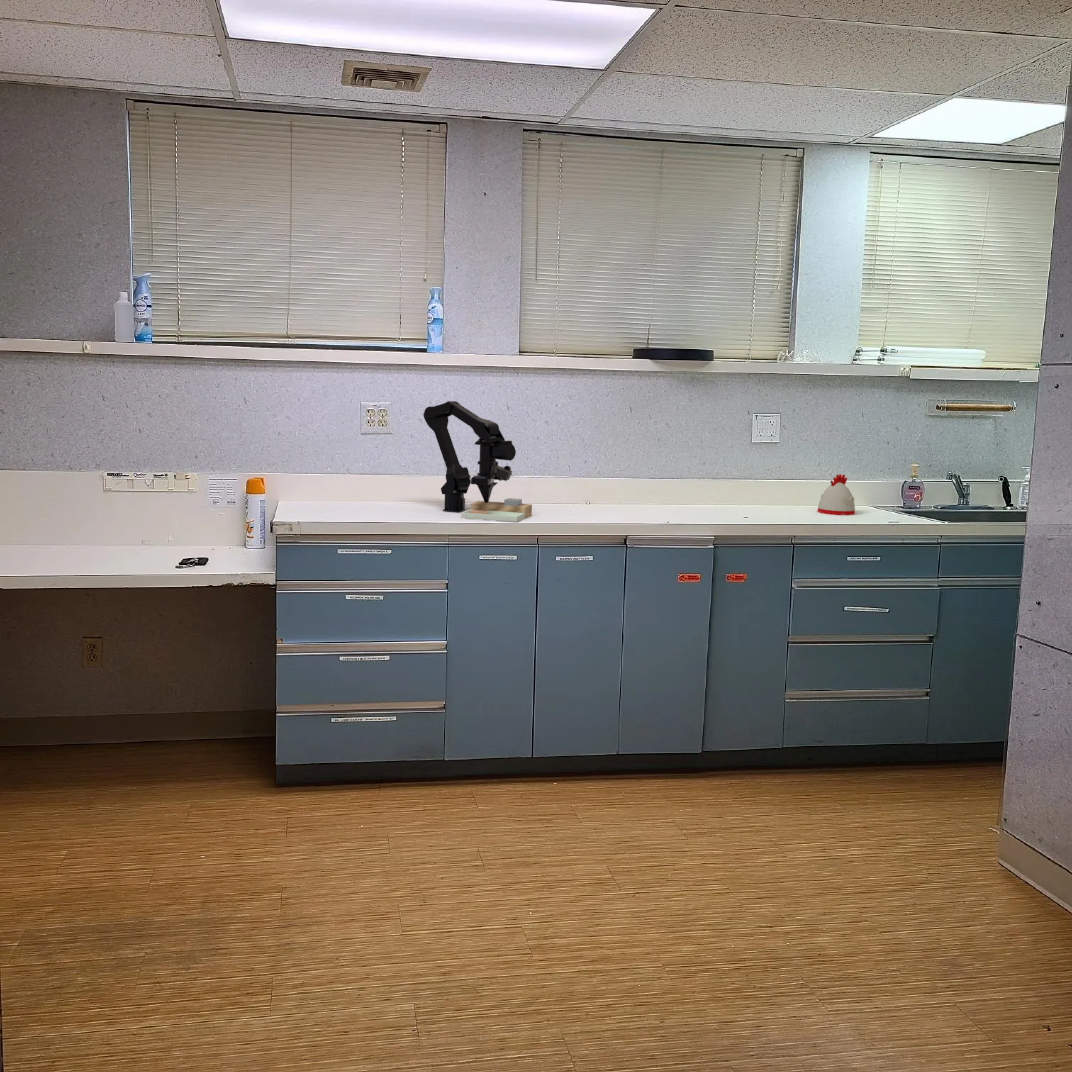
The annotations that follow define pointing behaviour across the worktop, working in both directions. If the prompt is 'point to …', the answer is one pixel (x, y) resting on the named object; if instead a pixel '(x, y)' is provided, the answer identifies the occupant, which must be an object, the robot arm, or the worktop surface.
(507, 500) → the slate tile
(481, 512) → the terracotta tile
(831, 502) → the kitchen timer
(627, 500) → the worktop surface
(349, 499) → the worktop surface
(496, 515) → the tray
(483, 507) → the oak board
